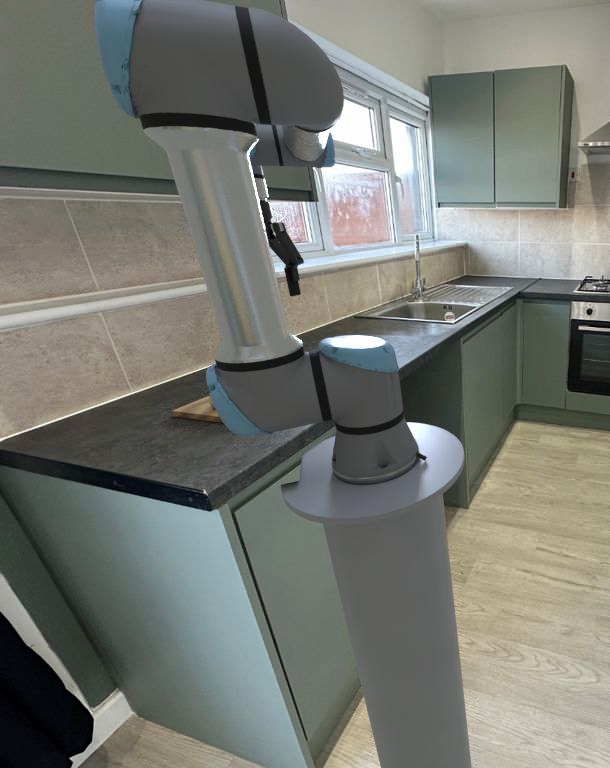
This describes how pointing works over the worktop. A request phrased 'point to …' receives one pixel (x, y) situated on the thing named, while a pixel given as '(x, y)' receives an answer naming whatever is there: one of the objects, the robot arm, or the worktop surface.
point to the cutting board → (198, 411)
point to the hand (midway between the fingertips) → (272, 295)
